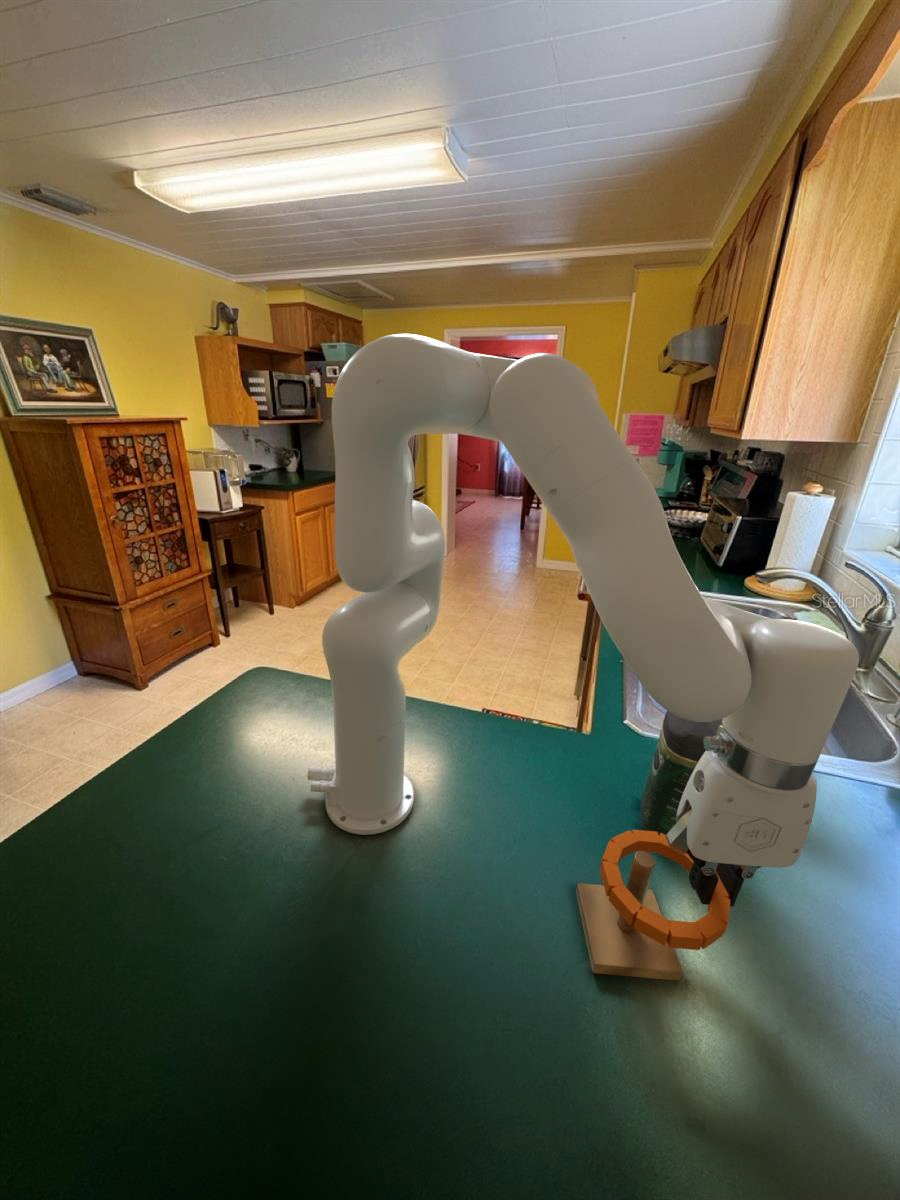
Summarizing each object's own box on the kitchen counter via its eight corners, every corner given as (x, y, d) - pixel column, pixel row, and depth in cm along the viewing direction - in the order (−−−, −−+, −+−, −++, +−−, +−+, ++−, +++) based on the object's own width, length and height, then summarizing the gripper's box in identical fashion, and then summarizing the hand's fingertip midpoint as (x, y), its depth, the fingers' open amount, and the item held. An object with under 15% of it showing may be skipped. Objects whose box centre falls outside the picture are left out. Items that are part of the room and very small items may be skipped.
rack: (592, 973, 49) (613, 896, 45) (575, 891, 57) (591, 820, 53) (679, 981, 49) (709, 905, 44) (649, 898, 57) (672, 827, 53)
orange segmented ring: (619, 943, 44) (622, 932, 44) (590, 836, 56) (592, 826, 55) (750, 955, 44) (755, 943, 44) (694, 844, 55) (697, 834, 55)
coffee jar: (703, 862, 62) (744, 748, 55) (639, 843, 64) (671, 731, 57) (693, 809, 71) (728, 704, 64) (637, 793, 73) (665, 691, 66)
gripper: (693, 774, 40) (647, 921, 47) (883, 789, 39) (809, 935, 46) (660, 721, 47) (625, 855, 54) (822, 733, 46) (765, 867, 53)
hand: (710, 891), depth 50 cm, fingers closed on orange segmented ring, 1 cm apart
